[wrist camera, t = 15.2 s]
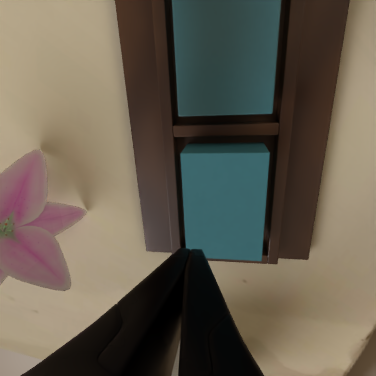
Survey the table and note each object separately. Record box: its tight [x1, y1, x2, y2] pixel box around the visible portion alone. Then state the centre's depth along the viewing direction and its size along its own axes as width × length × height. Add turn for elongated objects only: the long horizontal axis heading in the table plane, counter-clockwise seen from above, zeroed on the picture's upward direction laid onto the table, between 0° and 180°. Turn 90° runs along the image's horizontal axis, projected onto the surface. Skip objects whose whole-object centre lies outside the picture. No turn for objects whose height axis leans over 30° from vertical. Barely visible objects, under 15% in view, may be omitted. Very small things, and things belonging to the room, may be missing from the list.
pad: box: [180, 142, 270, 261], centre depth 18 cm, size 6×8×3 cm
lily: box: [0, 150, 87, 291], centre depth 21 cm, size 12×12×10 cm
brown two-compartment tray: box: [115, 0, 350, 264], centre depth 17 cm, size 14×22×4 cm, turn 3°
